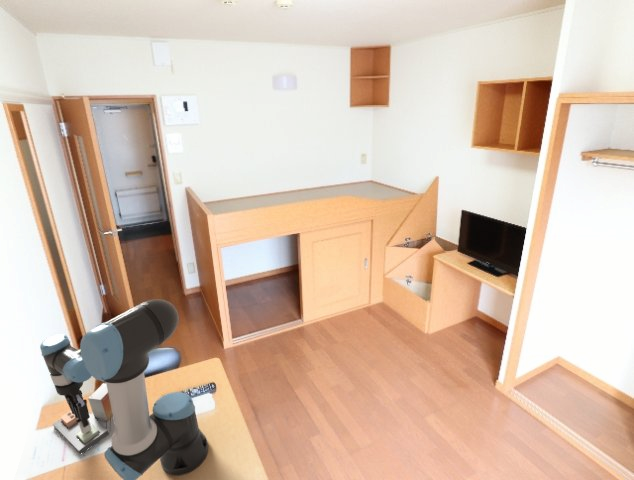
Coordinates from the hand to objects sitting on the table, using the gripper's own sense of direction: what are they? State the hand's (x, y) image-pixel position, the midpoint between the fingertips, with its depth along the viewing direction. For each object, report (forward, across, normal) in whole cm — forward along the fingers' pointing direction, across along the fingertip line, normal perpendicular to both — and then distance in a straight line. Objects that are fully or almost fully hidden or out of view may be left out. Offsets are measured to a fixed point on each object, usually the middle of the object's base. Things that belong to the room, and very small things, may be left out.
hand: (86, 431), depth 131 cm
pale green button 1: (+4, 0, 0) cm, 4 cm away
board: (+4, +6, 0) cm, 7 cm away
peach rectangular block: (+4, +12, 0) cm, 12 cm away
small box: (+4, +6, -10) cm, 12 cm away
